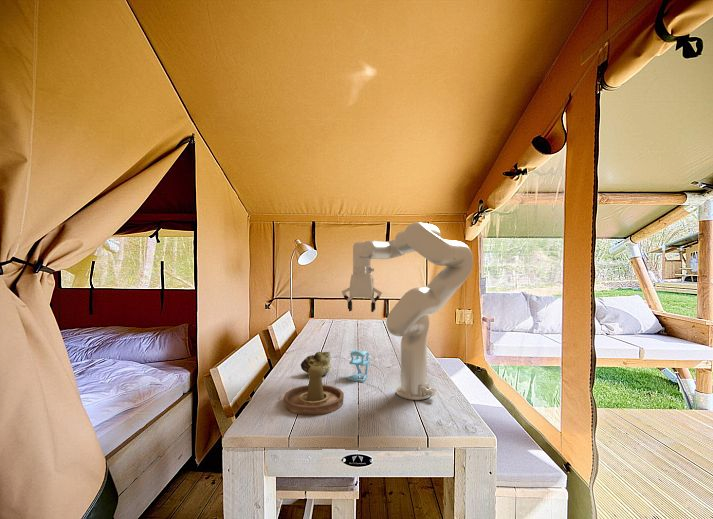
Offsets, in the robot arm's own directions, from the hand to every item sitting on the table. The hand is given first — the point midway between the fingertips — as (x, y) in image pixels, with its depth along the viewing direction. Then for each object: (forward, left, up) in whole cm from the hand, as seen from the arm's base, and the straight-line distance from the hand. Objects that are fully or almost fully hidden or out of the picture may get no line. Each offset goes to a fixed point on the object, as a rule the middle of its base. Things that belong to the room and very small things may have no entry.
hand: (361, 311), depth 141 cm
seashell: (+15, +12, -28) cm, 34 cm away
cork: (-8, +30, -27) cm, 41 cm away
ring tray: (-8, +31, -28) cm, 42 cm away
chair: (-1, +2, -28) cm, 28 cm away
